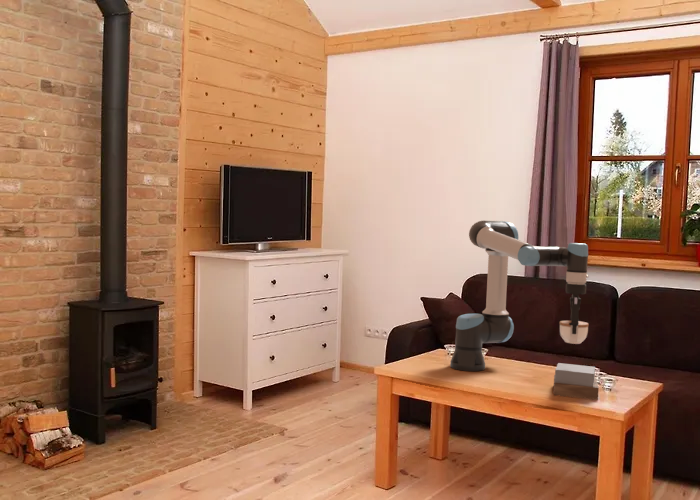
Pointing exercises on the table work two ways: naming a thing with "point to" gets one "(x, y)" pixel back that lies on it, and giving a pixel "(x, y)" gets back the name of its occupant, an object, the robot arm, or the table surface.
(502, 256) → the robot arm
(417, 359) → the table surface
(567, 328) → the lidded jar
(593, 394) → the tower base
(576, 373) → the grey square slab
